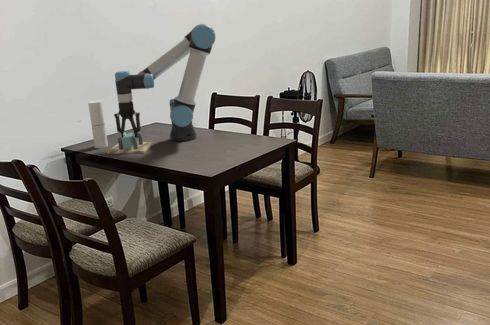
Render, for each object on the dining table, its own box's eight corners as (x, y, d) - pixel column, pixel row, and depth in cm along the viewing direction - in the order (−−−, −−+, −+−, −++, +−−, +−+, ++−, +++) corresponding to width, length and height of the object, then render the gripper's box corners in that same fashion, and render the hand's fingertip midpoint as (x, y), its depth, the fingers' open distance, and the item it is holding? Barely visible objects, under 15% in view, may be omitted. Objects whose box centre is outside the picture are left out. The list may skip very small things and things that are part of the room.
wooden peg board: (154, 143, 270) (152, 131, 268) (144, 152, 253) (142, 139, 251) (119, 144, 273) (117, 132, 271) (107, 153, 256) (105, 140, 253)
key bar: (131, 149, 257) (130, 138, 255) (123, 149, 257) (121, 138, 256) (138, 143, 268) (137, 132, 267) (130, 143, 269) (129, 132, 267)
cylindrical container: (104, 148, 267) (97, 102, 260) (92, 148, 269) (85, 103, 262) (110, 144, 274) (104, 100, 267) (98, 144, 276) (92, 100, 268)
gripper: (144, 99, 258) (148, 142, 265) (111, 100, 260) (117, 143, 267) (139, 102, 251) (144, 146, 258) (106, 103, 253) (112, 146, 260)
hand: (130, 144), depth 262 cm, fingers open, 5 cm apart
